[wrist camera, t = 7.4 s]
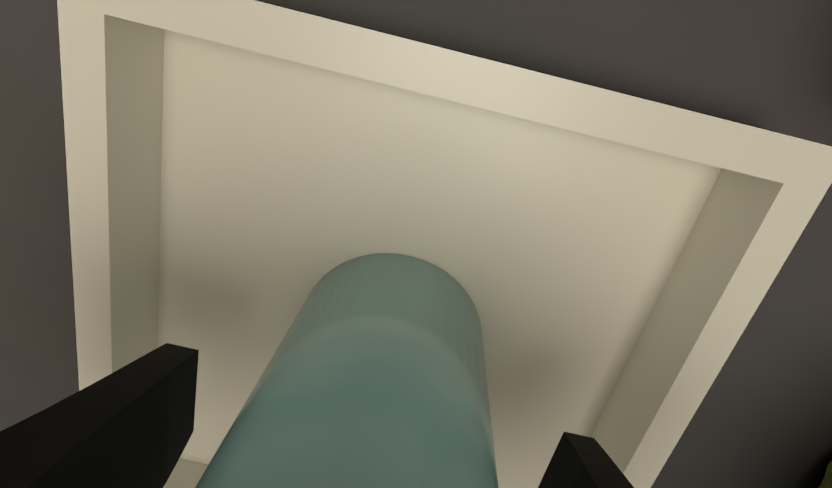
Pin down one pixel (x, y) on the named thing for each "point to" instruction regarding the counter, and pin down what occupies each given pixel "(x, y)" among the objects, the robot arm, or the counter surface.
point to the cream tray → (413, 215)
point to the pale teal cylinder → (369, 389)
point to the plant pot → (827, 477)
